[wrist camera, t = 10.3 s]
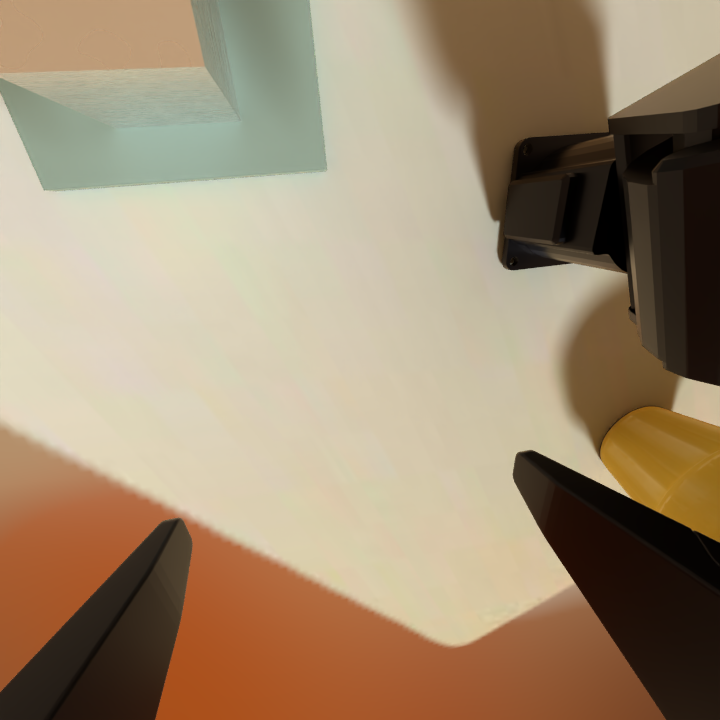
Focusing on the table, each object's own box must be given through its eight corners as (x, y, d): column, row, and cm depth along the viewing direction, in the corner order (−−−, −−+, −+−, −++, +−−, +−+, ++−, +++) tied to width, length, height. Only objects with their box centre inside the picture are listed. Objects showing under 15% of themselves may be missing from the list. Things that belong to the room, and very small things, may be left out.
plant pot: (599, 389, 25) (761, 487, 16) (709, 379, 27) (910, 463, 18) (563, 489, 29) (676, 607, 21) (660, 475, 31) (801, 579, 22)
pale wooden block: (208, -48, 12) (132, -264, 6) (241, 121, 14) (205, 66, 8) (55, -49, 11) (-171, -290, 6) (115, 128, 13) (-10, 73, 8)
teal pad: (295, -110, 12) (295, -131, 11) (325, 171, 16) (327, 169, 15) (-78, -122, 11) (-105, -146, 10) (56, 191, 14) (43, 190, 14)
